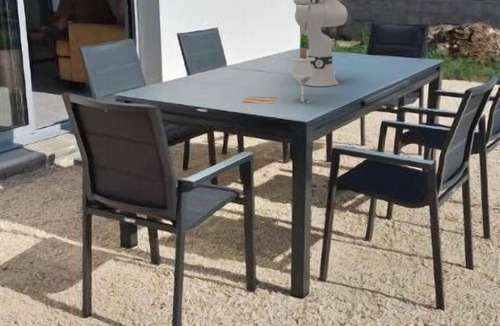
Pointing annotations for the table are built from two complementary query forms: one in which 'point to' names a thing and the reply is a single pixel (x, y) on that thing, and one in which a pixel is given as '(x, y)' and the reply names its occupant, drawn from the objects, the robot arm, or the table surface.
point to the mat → (261, 100)
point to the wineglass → (302, 74)
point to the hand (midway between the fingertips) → (303, 32)
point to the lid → (303, 56)
